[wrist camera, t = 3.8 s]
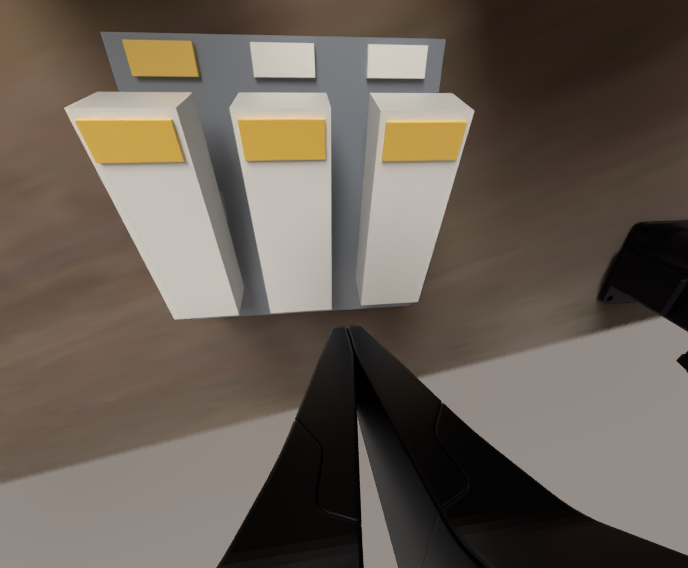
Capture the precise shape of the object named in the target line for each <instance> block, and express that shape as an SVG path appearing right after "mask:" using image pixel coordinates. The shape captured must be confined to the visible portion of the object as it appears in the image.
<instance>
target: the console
mask: <svg viewBox="0 0 688 568" xmlns="http://www.w3.org/2000/svg"><path fill="white" fill-rule="evenodd" d="M100 33H101V37H102V40H103V43H104V46H105V49H106V53H107V56H108V59H109V62H110V65H111V69H112V72H113V75H114V78H115V81H116V84H117V88H118V91H119V92H193V95H194V98H195V102H196V106H197V110H198V114H199V117H200V121H201V125H202V129H203V133H204V136H205V140H206V144H207V148H208V152H209V155H210V159H211V163H212V167H213V170H214V174H215V178H216V182H217V186H218V189H219V193H220V197H221V201H222V205H223V208H224V212H225V216H226V220H227V224H228V227H229V231H230V235H231V239H232V243H233V246H234V250H235V254H236V258H237V262H238V265H239V269H240V273H241V277H242V280H243V284H244V291H243V297H242V302H241V308H240V313H239V315H237V316H221V317H205V318H190V320H192V319H208V318H223V317H239V316H255V315H271V314H286V313H302V312H318V311H334V310H350V309H365V308H381V307H397V306H410V303H411V302H409V303H393V304H377V305H361V304H360V299H359V293H358V288H357V283H356V266H357V253H358V240H359V227H360V214H361V201H362V188H363V175H364V162H365V149H366V136H367V123H368V110H369V97H370V93H439V86H440V79H441V71H442V64H443V57H444V49H445V42H446V39H423V38H376V37H329V36H282V35H235V34H188V33H141V32H100ZM239 92H282V93H327V96H328V99H329V102H330V106H331V255H332V310H316V311H300V312H284V313H270V308H269V303H268V298H267V293H266V288H265V283H264V278H263V273H262V268H261V263H260V258H259V254H258V249H257V244H256V239H255V234H254V229H253V224H252V219H251V214H250V209H249V204H248V199H247V194H246V189H245V184H244V179H243V174H242V169H241V164H240V159H239V154H238V149H237V144H236V139H235V134H234V129H233V124H232V119H231V114H230V109H229V107H230V106H231V104H232V102H233V101H234V99H235V97H236V96H237V94H238V93H239Z"/></svg>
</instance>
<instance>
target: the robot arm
mask: <svg viewBox="0 0 688 568" xmlns="http://www.w3.org/2000/svg"><path fill="white" fill-rule="evenodd" d="M599 300H600V301H602V302H603V303H605V304H615V303H630V302H639V303H640V304H642V305H644V306H645V307H647V308H648V309H650V310H652V311H653V312H655V313H657V314H658V315H660V316H663V317H664V318H666V319H668V320H669V321H671V322H673V323H674V324H676V325H678V326H679V327H681V328H682V329H684V330H686V331H687V332H688V220H678V221H653V222H641V223H639V224H637V225H636V226H635V227H634V229H633V231H632V233H631V235H630V237H629V239H628V241H627V243H626V245H625V247H624V249H623V251H622V253H621V255H620V257H619V259H618V261H617V263H616V265H615V267H614V269H613V271H612V273H611V275H610V277H609V279H608V281H607V283H606V285H605V287H604V289H603V291H602V293H601V295H600V297H599ZM677 362H678V363H679V364H680V365H681V366H682V367H683V368H684V369H686V370H687V372H688V351H687V352H686V354H682V355H681V356H680V357H679V358H678V359H677ZM441 403H442V402H441V400H440V399H439V398H437V397H436V396H435V395H434V394H433V393H432V392H431V391H430V390H429V389H428V388H427V387H426V386H425V385H424V384H423V383H422V382H421V381H420V380H419V379H418V378H416V377H415V376H414V375H413V374H412V373H411V372H410V371H409V370H408V369H407V368H406V367H405V366H404V365H403V364H402V363H401V362H400V361H399V360H398V359H397V358H395V357H394V356H393V355H392V354H391V353H390V352H389V351H388V350H387V349H386V348H385V347H384V346H383V345H382V344H381V343H380V342H379V341H378V340H377V339H376V338H374V337H373V336H372V335H371V334H370V333H369V332H368V331H367V330H366V329H365V328H364V327H363V326H361V325H354V326H348V327H347V328H346V327H345V326H342V327H333V328H332V329H331V331H330V334H329V336H328V338H327V341H326V343H325V346H324V348H323V351H322V353H321V356H320V358H319V361H318V363H317V366H316V368H315V371H314V373H313V376H312V378H311V381H310V383H309V386H308V388H307V391H306V393H305V396H304V398H303V400H302V403H301V405H300V408H299V410H298V413H297V415H296V418H295V421H294V422H293V425H292V428H291V430H290V432H289V435H288V437H287V439H286V442H285V444H284V446H283V448H282V451H281V453H280V455H279V457H278V459H277V461H276V463H275V465H274V467H273V469H272V471H271V472H270V475H269V477H268V479H267V480H266V482H265V484H264V486H263V488H262V489H261V491H260V493H259V494H258V497H257V498H256V500H255V502H254V504H253V505H252V507H251V509H250V511H249V513H248V514H247V516H246V518H245V520H244V521H243V523H242V525H241V527H240V529H239V530H238V532H237V534H236V536H235V538H234V540H233V541H232V543H231V545H230V546H229V548H228V550H227V551H226V553H225V555H224V557H223V558H222V560H221V561H220V563H219V564H218V566H217V567H216V568H364V565H363V547H362V527H361V500H360V476H359V451H358V430H357V429H358V426H357V417H358V420H359V424H360V428H361V432H362V436H363V439H364V443H365V447H366V450H367V454H368V457H369V461H370V465H371V469H372V472H373V476H374V480H375V483H376V487H377V491H378V495H379V498H380V502H381V506H382V509H383V512H384V517H385V520H386V524H387V528H388V531H389V535H390V539H391V543H392V546H393V550H394V554H395V557H396V561H397V565H398V568H688V556H687V555H685V554H682V553H680V552H677V551H674V550H672V549H669V548H666V547H664V546H661V545H658V544H656V543H653V542H651V541H648V540H645V539H643V538H640V537H638V536H635V535H632V534H629V533H627V532H624V531H622V530H619V529H616V528H614V527H611V526H609V525H606V524H604V523H601V522H598V521H596V520H594V519H592V518H590V517H588V516H586V515H584V514H583V513H581V512H579V511H577V510H575V509H574V508H572V507H571V506H569V505H568V504H566V503H565V502H563V501H562V500H560V499H559V498H558V497H556V496H555V495H554V494H552V493H551V492H550V491H548V490H547V489H546V488H544V487H543V486H542V485H541V484H539V483H538V482H537V481H535V480H534V479H533V478H532V477H531V476H529V475H528V474H527V473H526V472H524V471H523V470H522V469H520V468H519V467H518V466H517V465H515V464H514V463H513V462H512V461H510V460H509V459H508V458H506V457H505V456H504V455H503V454H501V453H500V452H499V451H498V450H496V449H495V448H494V447H493V446H491V445H490V444H489V443H488V442H487V441H485V440H484V439H483V438H482V437H480V436H479V435H478V434H477V433H476V432H474V431H473V430H472V429H471V428H470V427H469V426H468V425H467V424H466V423H464V422H463V421H462V420H461V419H460V418H459V417H458V416H457V415H456V414H454V413H453V412H452V411H451V410H450V409H449V408H448V407H447V406H446V405H445V404H443V403H442V404H441Z"/></svg>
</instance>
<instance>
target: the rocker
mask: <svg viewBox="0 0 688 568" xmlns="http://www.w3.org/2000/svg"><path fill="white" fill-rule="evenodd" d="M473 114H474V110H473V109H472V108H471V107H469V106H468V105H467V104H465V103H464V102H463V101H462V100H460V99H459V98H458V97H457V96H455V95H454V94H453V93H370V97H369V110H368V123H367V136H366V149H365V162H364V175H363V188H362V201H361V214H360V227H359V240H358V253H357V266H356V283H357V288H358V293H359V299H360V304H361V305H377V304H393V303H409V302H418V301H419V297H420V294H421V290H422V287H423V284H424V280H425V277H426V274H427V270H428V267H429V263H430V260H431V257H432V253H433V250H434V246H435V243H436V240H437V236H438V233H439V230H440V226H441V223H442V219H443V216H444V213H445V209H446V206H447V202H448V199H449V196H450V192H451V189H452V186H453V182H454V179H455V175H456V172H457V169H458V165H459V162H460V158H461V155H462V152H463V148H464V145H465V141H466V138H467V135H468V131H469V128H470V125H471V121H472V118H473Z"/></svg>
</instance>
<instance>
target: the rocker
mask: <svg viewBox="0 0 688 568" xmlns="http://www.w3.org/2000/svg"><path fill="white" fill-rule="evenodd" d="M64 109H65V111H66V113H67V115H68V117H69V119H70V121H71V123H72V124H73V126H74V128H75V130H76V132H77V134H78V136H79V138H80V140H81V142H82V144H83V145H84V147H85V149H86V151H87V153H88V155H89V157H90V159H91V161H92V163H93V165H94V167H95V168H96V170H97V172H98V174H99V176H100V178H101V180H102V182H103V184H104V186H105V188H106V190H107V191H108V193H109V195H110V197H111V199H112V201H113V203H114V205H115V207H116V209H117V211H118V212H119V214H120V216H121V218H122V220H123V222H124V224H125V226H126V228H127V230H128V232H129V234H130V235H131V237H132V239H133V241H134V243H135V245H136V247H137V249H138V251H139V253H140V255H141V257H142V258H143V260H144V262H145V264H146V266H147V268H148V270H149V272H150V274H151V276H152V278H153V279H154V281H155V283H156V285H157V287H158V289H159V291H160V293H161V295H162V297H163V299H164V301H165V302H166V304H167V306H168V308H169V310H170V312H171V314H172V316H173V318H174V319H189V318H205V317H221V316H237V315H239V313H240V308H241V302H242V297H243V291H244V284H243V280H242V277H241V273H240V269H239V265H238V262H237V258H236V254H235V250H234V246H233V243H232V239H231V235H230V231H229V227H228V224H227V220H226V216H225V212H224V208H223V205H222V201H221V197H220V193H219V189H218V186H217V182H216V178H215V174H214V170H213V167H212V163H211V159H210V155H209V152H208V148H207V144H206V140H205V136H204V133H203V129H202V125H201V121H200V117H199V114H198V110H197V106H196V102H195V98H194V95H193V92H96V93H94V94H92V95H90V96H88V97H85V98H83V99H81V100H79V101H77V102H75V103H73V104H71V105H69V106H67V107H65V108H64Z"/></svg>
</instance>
